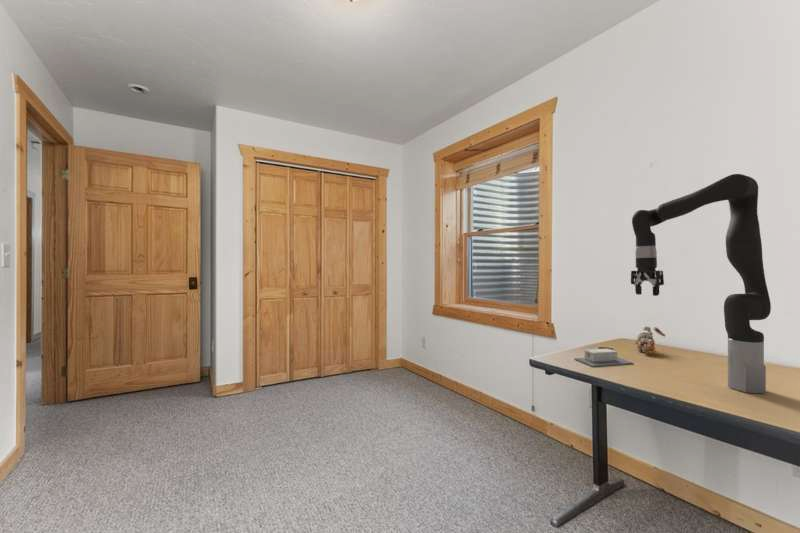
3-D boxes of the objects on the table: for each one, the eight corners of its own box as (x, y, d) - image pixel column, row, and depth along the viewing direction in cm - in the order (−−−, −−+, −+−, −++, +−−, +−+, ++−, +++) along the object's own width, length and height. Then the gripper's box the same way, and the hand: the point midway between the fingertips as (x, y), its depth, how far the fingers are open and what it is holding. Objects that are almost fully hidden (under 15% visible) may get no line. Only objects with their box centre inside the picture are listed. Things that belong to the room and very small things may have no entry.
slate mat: (592, 367, 157) (592, 365, 157) (574, 359, 169) (574, 358, 169) (633, 364, 161) (633, 362, 161) (613, 356, 172) (613, 355, 172)
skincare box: (592, 362, 162) (617, 361, 164) (593, 352, 162) (618, 351, 164) (583, 358, 168) (608, 358, 170) (584, 348, 168) (608, 348, 170)
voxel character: (637, 357, 177) (631, 338, 189) (658, 364, 175) (651, 343, 187) (649, 340, 171) (641, 321, 183) (671, 347, 169) (662, 327, 181)
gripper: (668, 256, 151) (669, 295, 151) (639, 257, 165) (640, 293, 165) (652, 256, 150) (653, 296, 149) (625, 257, 164) (626, 294, 163)
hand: (647, 295), depth 157 cm, fingers open, 8 cm apart
